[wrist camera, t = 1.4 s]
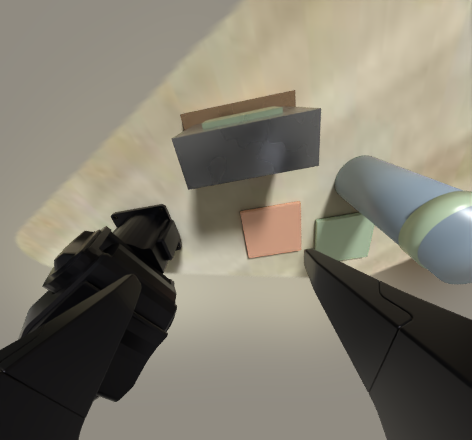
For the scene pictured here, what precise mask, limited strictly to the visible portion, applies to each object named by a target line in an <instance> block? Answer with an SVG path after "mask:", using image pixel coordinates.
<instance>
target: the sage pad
mask: <svg viewBox="0 0 472 440" xmlns="http://www.w3.org/2000/svg"><path fill="white" fill-rule="evenodd" d="M373 229H374V224H373V223H372V222H371V221H369V220H368V219H367V218H366V217H365V216H363V215H362V214H361V213H354V214H348V215H342V216H336V217H330V218H324V219H318V220H316V225H315V250H317V251H319V252H321V253H323V254H325V255H327V256H329V257H331V258H333V259H335V260H338V261H341V260H347V259H354V258H361V257H367V256H368V251H369V247H370V242H371V238H372V234H373Z"/></svg>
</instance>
